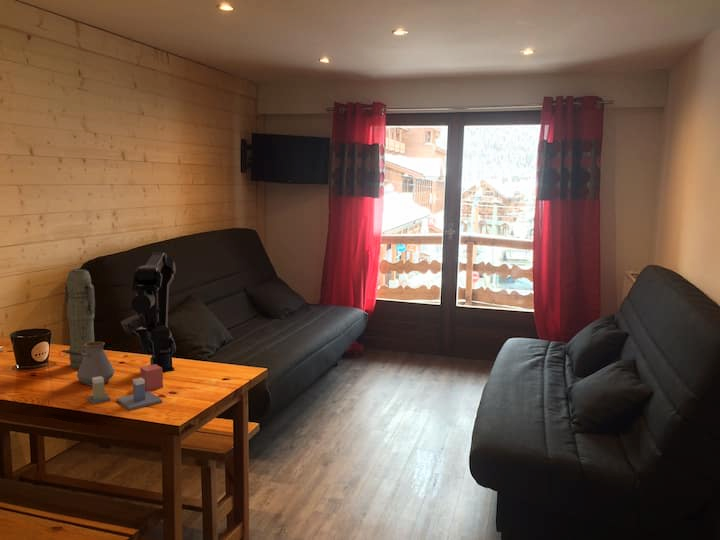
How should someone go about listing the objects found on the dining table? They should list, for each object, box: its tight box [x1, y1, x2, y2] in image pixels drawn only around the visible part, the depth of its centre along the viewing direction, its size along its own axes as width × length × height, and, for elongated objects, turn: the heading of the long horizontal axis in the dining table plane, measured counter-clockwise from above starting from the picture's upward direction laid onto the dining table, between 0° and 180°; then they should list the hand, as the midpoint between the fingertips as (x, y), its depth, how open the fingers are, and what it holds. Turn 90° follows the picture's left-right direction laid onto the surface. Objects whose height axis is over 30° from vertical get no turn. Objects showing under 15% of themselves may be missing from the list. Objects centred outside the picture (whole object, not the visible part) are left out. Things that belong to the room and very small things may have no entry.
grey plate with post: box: [116, 377, 163, 411], centre depth 178 cm, size 10×10×7 cm
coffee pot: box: [58, 341, 115, 386], centre depth 190 cm, size 21×12×15 cm, turn 168°
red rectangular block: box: [139, 364, 164, 391], centre depth 191 cm, size 5×5×7 cm
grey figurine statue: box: [64, 268, 96, 370], centre depth 210 cm, size 9×12×35 cm
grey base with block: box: [87, 376, 111, 405], centre depth 179 cm, size 5×5×7 cm
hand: (150, 353), depth 190 cm, fingers open, 9 cm apart
